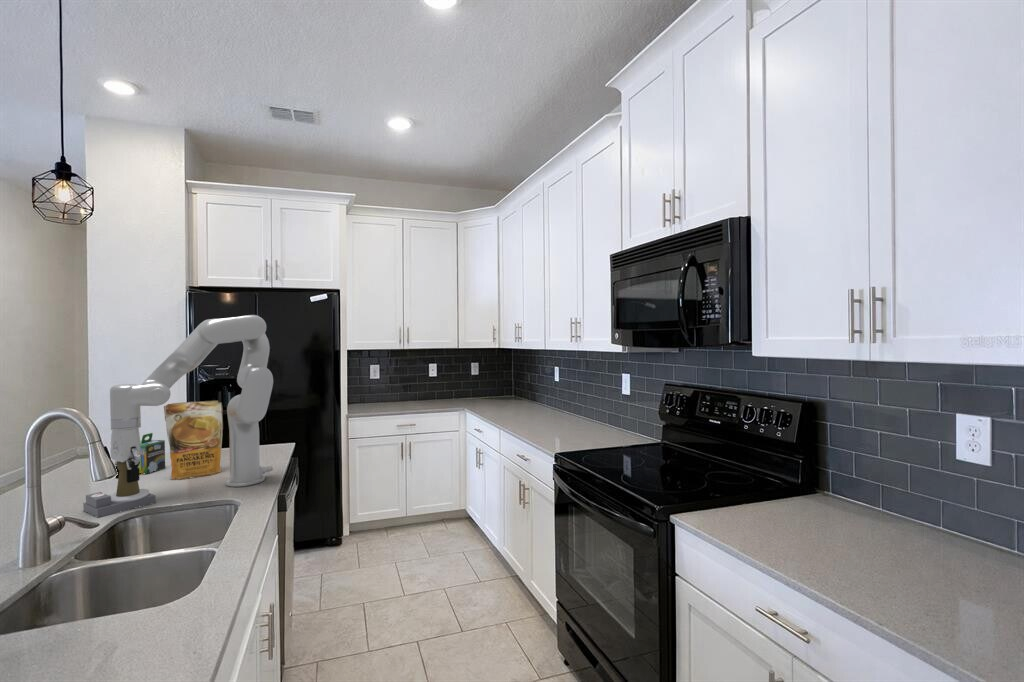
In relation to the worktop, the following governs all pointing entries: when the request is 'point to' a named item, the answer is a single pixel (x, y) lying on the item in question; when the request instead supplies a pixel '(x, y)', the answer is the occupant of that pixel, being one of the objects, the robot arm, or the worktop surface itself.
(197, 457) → the pancake mix bag
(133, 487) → the cork
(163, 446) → the chalk box
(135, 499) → the kitchen scale
